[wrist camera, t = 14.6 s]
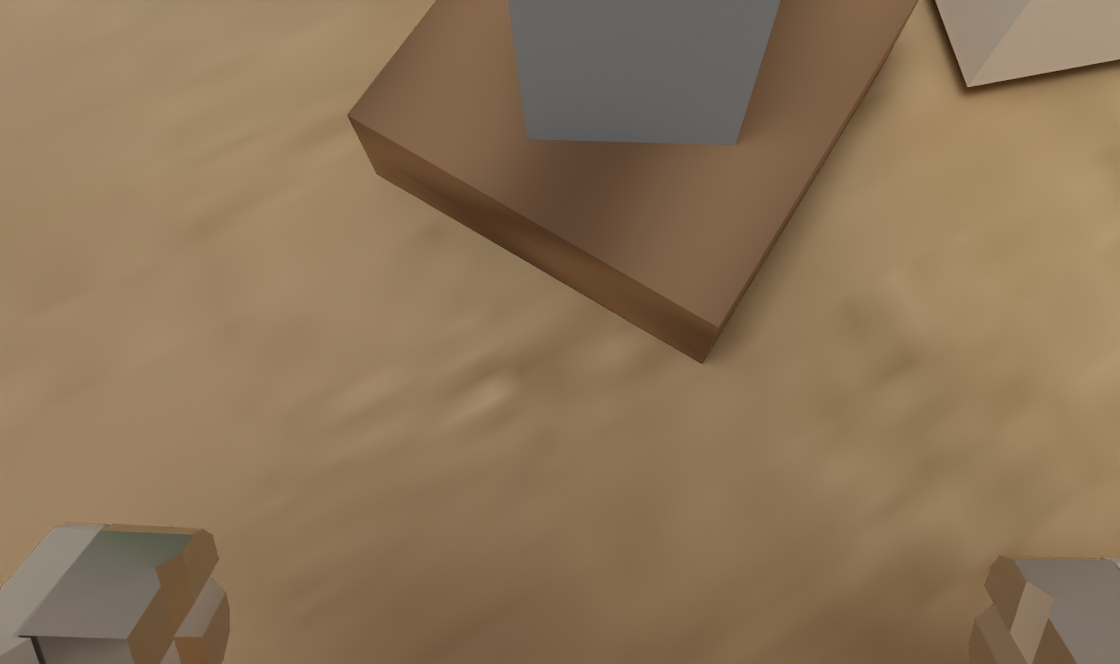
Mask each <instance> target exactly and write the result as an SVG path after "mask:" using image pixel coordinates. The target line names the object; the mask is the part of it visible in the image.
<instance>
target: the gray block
mask: <svg viewBox="0 0 1120 664" xmlns="http://www.w3.org/2000/svg"><path fill="white" fill-rule="evenodd" d="M780 1H781V0H508V5H509V13H510V20H511V27H512V34H513V41H514V48H515V55H516V63H517V70H518V77H519V84H520V91H521V98H522V105H523V113H524V120H525V127H526V134H527V139H535V140H571V141H607V142H642V143H678V144H714V145H736V142H737V139H738V135H739V132H740V129H741V126H742V123H743V119H744V116H745V113H746V110H747V107H748V103H749V100H750V97H751V94H752V91H753V87H754V84H755V81H756V78H757V75H758V71H759V68H760V65H761V62H762V59H763V55H764V52H765V49H766V46H767V43H768V40H769V36H770V33H771V30H772V27H773V24H774V20H775V17H776V14H777V11H778V8H779V4H780Z"/></svg>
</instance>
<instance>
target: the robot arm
mask: <svg viewBox="0 0 1120 664" xmlns="http://www.w3.org/2000/svg"><path fill="white" fill-rule="evenodd" d="M218 560H219V557H218V554H217V550H216V546H215V542H214V538H213V535H212V534H211V533H209V532H207V531H206V530H204V529H195V528H177V527H159V526H141V525H124V524H112V525H107V524H91V523H73V522H66V523H64V524H62V525H59V526H57V527H54V528H53V529H52V530H51V531H50V532H49V533H48V534H47V535H46V536H45V537H44V539H43V540H42V541H41V542H40V543H39V544H38V546H37V547H36V548H35V549H34V550H33V551H32V553H31V554H30V555H29V556H28V557H27V558H26V560H25V561H24V562H23V563H22V564H21V565H20V566H19V568H18V569H17V570H16V571H15V572H14V573H13V575H12V576H11V577H10V578H9V579H8V580H7V582H6V583H5V584H4V585H3V586H2V587H1V588H0V664H221V663H222V661H223V659H224V654H225V650H226V645H227V641H228V636H229V632H230V610H229V605H228V600H227V595H226V591H225V590H223V589H222V588H221V587H220V586H219V585H218V584H217V583H216V582H215V581H214V580H213V579H212V578H211V577H210V575H211V573H212V571H213V569H214V567H215V566H216V564H217V562H218ZM984 586H985V587H986V589H987V591H988V593H989V595H990V597H991V599H992V601H993V602H994V604H992V605H991V606H990V607H989V608H987V609H986V610H985V611H984V612H982V613H981V614H980V615H979V616H977V617H976V618H975V620H974V624H973V629H972V633H971V637H970V641H969V658H970V664H1120V557H1101V558H1099V559H1097V558H1073V557H1036V556H998V557H997V559H996V560H995V561H994V562H993V564H992V565H991V566H990V569H989V572H988V576H987V579H986V582H985V585H984Z"/></svg>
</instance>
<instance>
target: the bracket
mask: <svg viewBox="0 0 1120 664" xmlns="http://www.w3.org/2000/svg"><path fill="white" fill-rule="evenodd" d="M935 1H936V4H937V7H938V9H939V12H940V15H941V17H942V20H943V23H944V25H945V28H946V31H947V34H948V36H949V39H950V42H951V44H952V47H953V50H954V52H955V55H956V58H957V60H958V63H959V66H960V68H961V71H962V74H963V77H964V79H965V82H966V85H967V87H972V86H977V85H983V84H988V83H993V82H999V81H1004V80H1010V79H1015V78H1020V77H1026V76H1031V75H1037V74H1042V73H1048V72H1053V71H1058V70H1064V69H1069V68H1075V67H1080V66H1086V65H1091V64H1096V63H1102V62H1107V61H1113V60H1118V59H1120V0H935Z"/></svg>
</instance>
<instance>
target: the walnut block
mask: <svg viewBox="0 0 1120 664" xmlns="http://www.w3.org/2000/svg"><path fill="white" fill-rule="evenodd" d="M917 2H918V0H781V1H780V4H779V8H778V11H777V14H776V17H775V20H774V24H773V27H772V30H771V33H770V36H769V40H768V43H767V46H766V49H765V52H764V55H763V59H762V62H761V65H760V68H759V71H758V75H757V78H756V81H755V84H754V87H753V91H752V94H751V97H750V100H749V103H748V107H747V110H746V113H745V116H744V119H743V123H742V126H741V129H740V132H739V135H738V139H737V142H736V145H714V144H678V143H642V142H607V141H571V140H535V139H527V134H526V127H525V120H524V113H523V105H522V98H521V91H520V84H519V77H518V70H517V63H516V55H515V48H514V41H513V34H512V27H511V20H510V13H509V5H508V0H436V1H435V3H434V4H433V5H432V7H431V8H430V9H429V10H428V12H427V13H426V14H425V16H424V17H423V18H422V19H421V21H420V22H419V23H418V25H417V26H416V27H415V28H414V30H413V31H412V32H411V34H410V35H409V36H408V37H407V39H406V40H405V41H404V43H403V44H402V45H401V46H400V48H399V49H398V50H397V52H396V53H395V54H394V55H393V57H392V58H391V59H390V61H389V62H388V63H387V64H386V66H385V67H384V68H383V70H382V71H381V72H380V73H379V75H378V76H377V77H376V79H375V80H374V81H373V82H372V84H371V85H370V86H369V88H368V89H367V90H366V91H365V93H364V94H363V95H362V97H361V98H360V99H359V100H358V102H357V103H356V104H355V106H354V107H353V108H352V109H351V111H350V112H349V113H348V115H347V116H348V118H349V120H350V122H351V124H352V126H353V128H354V130H355V132H356V134H357V136H358V138H359V140H360V142H361V144H362V146H363V148H364V150H365V151H366V153H367V155H368V157H369V159H370V161H371V163H372V165H373V167H374V169H375V171H376V173H377V174H378V175H380V176H382V177H383V178H385V179H387V180H388V181H390V182H392V183H394V184H395V185H397V186H399V187H400V188H402V189H404V190H406V191H407V192H409V193H411V194H412V195H414V196H416V197H418V198H419V199H421V200H423V201H424V202H426V203H428V204H430V205H431V206H433V207H435V208H436V209H438V210H440V211H441V212H443V213H445V214H447V215H448V216H450V217H452V218H453V219H455V220H457V221H459V222H460V223H462V224H464V225H465V226H467V227H469V228H471V229H472V230H474V231H476V232H477V233H479V234H481V235H483V236H484V237H486V238H488V239H489V240H491V241H493V242H495V243H496V244H498V245H500V246H501V247H503V248H505V249H507V250H508V251H510V252H512V253H513V254H515V255H517V256H519V257H520V258H522V259H524V260H525V261H527V262H529V263H531V264H532V265H534V266H536V267H537V268H539V269H541V270H542V271H544V272H546V273H548V274H549V275H551V276H553V277H554V278H556V279H558V280H560V281H561V282H563V283H565V284H566V285H568V286H570V287H572V288H573V289H575V290H577V291H578V292H580V293H582V294H584V295H585V296H587V297H589V298H590V299H592V300H594V301H596V302H597V303H599V304H601V305H602V306H604V307H606V308H608V309H609V310H611V311H613V312H614V313H616V314H618V315H620V316H621V317H623V318H625V319H626V320H628V321H630V322H632V323H633V324H635V325H637V326H638V327H640V328H642V329H644V330H645V331H647V332H649V333H650V334H652V335H654V336H655V337H657V338H659V339H661V340H662V341H664V342H666V343H667V344H669V345H671V346H673V347H674V348H676V349H678V350H679V351H681V352H683V353H685V354H686V355H688V356H690V357H691V358H693V359H695V360H697V361H698V362H700V363H703V361H704V359H705V358H706V356H707V354H708V353H709V351H710V349H711V348H712V346H713V345H714V343H715V341H716V340H717V338H718V336H719V335H720V333H721V331H722V330H723V328H724V326H725V325H726V323H727V321H728V320H729V318H730V316H731V315H732V313H733V312H734V310H735V308H736V307H737V305H738V303H739V302H740V300H741V298H742V297H743V295H744V293H745V292H746V290H747V288H748V287H749V285H750V284H751V282H752V280H753V279H754V277H755V275H756V274H757V272H758V270H759V269H760V267H761V265H762V264H763V262H764V260H765V259H766V257H767V256H768V254H769V252H770V251H771V249H772V247H773V246H774V244H775V242H776V241H777V239H778V237H779V236H780V234H781V232H782V231H783V229H784V228H785V226H786V224H787V223H788V221H789V219H790V218H791V216H792V214H793V213H794V211H795V209H796V208H797V206H798V204H799V203H800V201H801V200H802V198H803V196H804V195H805V193H806V191H807V190H808V188H809V186H810V185H811V183H812V181H813V180H814V178H815V176H816V175H817V173H818V172H819V170H820V168H821V167H822V165H823V163H824V162H825V160H826V158H827V157H828V155H829V153H830V152H831V150H832V148H833V147H834V145H835V144H836V142H837V140H838V139H839V137H840V135H841V134H842V132H843V130H844V129H845V127H846V125H847V124H848V122H849V120H850V119H851V117H852V116H853V114H854V112H855V111H856V109H857V107H858V106H859V104H860V102H861V101H862V99H863V97H864V96H865V94H866V92H867V91H868V89H869V88H870V86H871V84H872V83H873V81H874V79H875V78H876V76H877V74H878V73H879V71H880V69H881V68H882V66H883V64H884V63H885V61H886V59H887V57H888V55H889V54H890V52H891V50H892V48H893V46H894V44H895V42H896V41H897V39H898V37H899V35H900V33H901V31H902V29H903V28H904V26H905V24H906V22H907V20H908V18H909V17H910V15H911V13H912V11H913V9H914V7H915V5H916V4H917Z"/></svg>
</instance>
